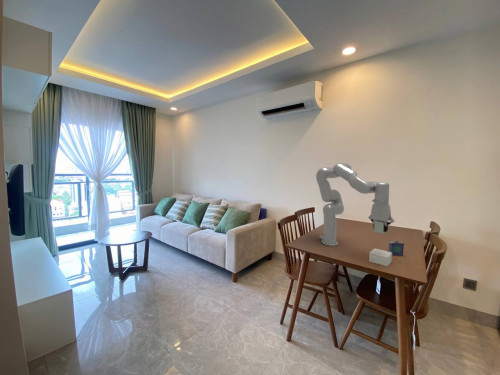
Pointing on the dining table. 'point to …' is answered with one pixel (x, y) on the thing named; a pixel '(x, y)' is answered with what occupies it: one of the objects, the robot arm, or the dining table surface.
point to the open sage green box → (379, 226)
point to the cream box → (380, 257)
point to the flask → (396, 248)
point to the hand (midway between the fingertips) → (380, 230)
